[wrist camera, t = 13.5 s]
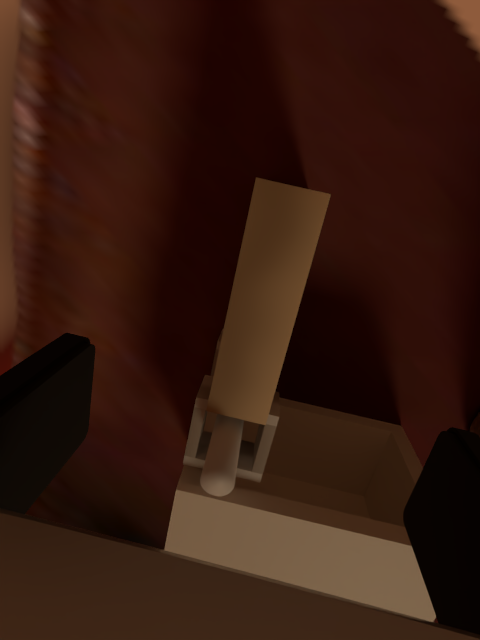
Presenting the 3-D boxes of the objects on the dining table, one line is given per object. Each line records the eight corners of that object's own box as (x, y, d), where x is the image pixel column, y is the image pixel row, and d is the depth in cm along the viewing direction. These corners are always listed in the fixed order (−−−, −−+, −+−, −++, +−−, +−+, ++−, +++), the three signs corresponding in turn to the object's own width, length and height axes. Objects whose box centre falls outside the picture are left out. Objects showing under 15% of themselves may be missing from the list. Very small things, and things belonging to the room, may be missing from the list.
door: (318, 191, 26) (348, 198, 15) (265, 384, 32) (259, 496, 20) (255, 177, 26) (238, 173, 15) (213, 372, 32) (178, 476, 20)
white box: (418, 386, 30) (525, 541, 17) (370, 499, 34) (426, 694, 21) (220, 340, 31) (177, 458, 17) (196, 457, 35) (145, 625, 22)
